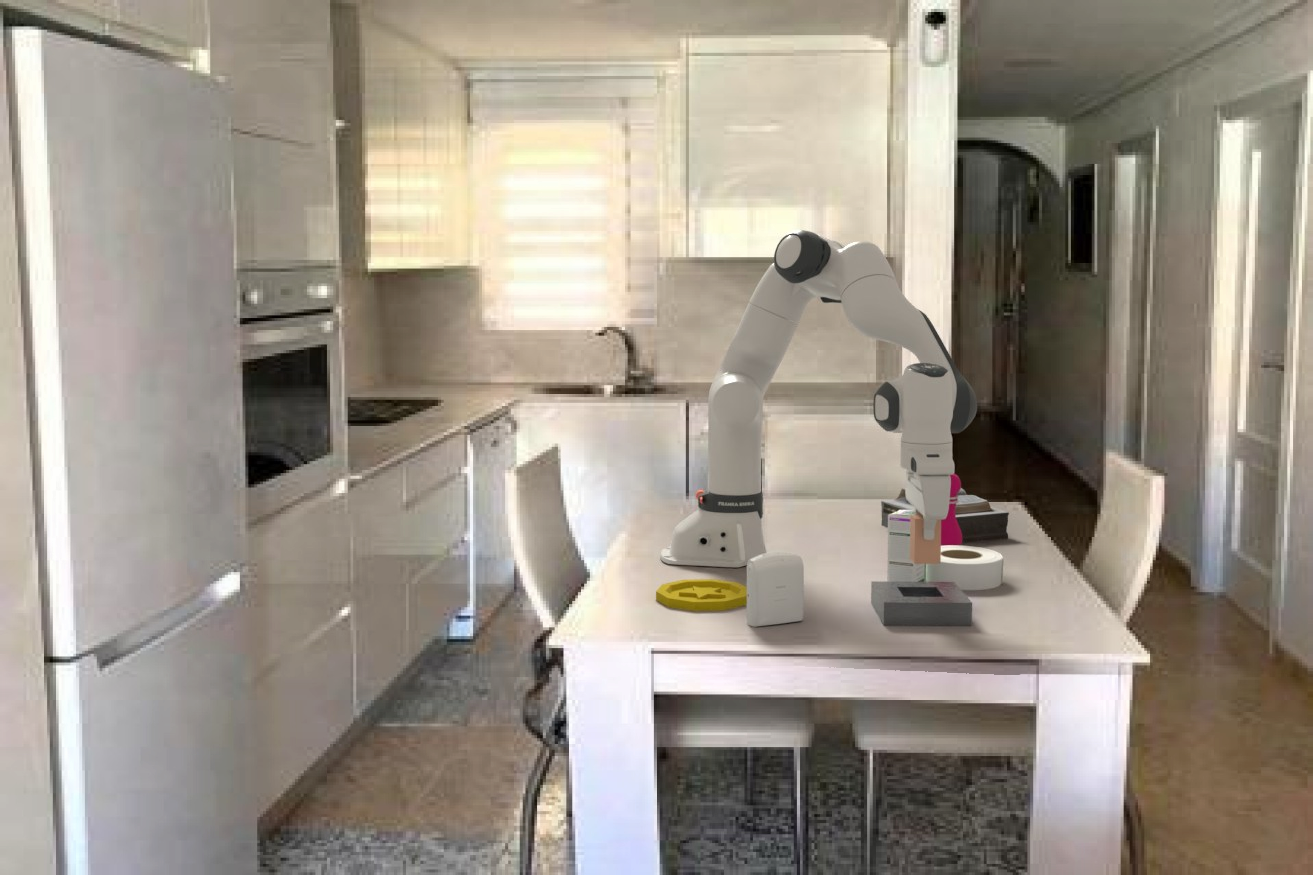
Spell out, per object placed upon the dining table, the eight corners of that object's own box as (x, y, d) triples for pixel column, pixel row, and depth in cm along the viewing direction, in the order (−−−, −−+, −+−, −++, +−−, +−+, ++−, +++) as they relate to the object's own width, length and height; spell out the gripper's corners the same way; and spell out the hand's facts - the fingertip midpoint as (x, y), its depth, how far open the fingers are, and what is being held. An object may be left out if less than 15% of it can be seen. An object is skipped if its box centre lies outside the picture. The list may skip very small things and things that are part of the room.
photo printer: (753, 628, 225) (754, 557, 223) (742, 622, 229) (743, 552, 227) (807, 622, 229) (808, 552, 227) (795, 616, 232) (796, 547, 231)
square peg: (914, 563, 231) (915, 518, 230) (909, 558, 235) (910, 513, 234) (940, 563, 231) (941, 518, 230) (935, 557, 235) (935, 513, 234)
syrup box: (915, 591, 250) (917, 516, 248) (885, 587, 253) (887, 512, 251) (926, 585, 255) (928, 511, 253) (897, 581, 258) (898, 508, 256)
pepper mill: (962, 563, 273) (965, 467, 271) (926, 562, 275) (929, 466, 272) (961, 556, 280) (964, 462, 278) (926, 554, 282) (929, 461, 279)
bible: (967, 520, 321) (968, 480, 320) (1016, 543, 295) (1017, 499, 293) (875, 523, 317) (876, 482, 316) (916, 547, 291) (917, 502, 289)
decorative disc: (684, 585, 256) (684, 575, 256) (766, 597, 247) (766, 586, 247) (639, 604, 242) (639, 593, 242) (724, 617, 233) (724, 606, 233)
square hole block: (883, 625, 227) (884, 602, 226) (870, 602, 242) (871, 581, 241) (971, 625, 226) (972, 602, 226) (953, 603, 241) (954, 581, 241)
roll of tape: (1004, 593, 250) (1005, 564, 249) (919, 589, 253) (920, 560, 252) (1000, 574, 265) (1000, 546, 264) (919, 570, 268) (920, 543, 267)
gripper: (897, 449, 241) (896, 524, 243) (919, 466, 221) (917, 547, 223) (932, 449, 241) (931, 523, 243) (957, 466, 221) (955, 547, 222)
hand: (924, 535), depth 232 cm, fingers closed on square peg, 4 cm apart
